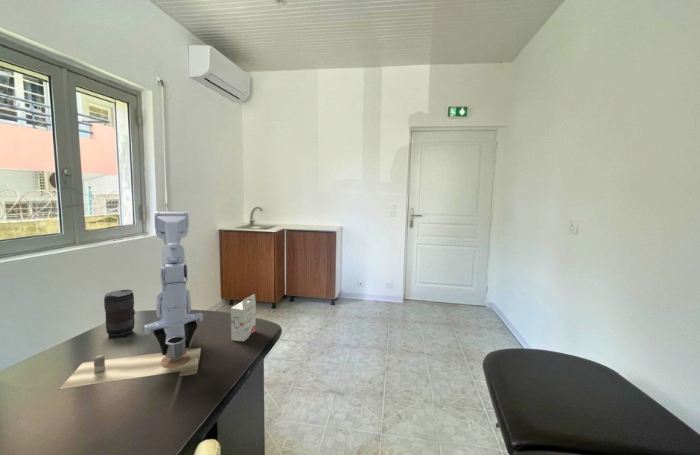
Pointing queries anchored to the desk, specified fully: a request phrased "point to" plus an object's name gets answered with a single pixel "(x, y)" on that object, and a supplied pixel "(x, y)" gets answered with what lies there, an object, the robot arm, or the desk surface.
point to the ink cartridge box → (243, 319)
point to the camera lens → (119, 313)
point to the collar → (176, 346)
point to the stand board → (132, 368)
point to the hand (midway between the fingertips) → (175, 350)
